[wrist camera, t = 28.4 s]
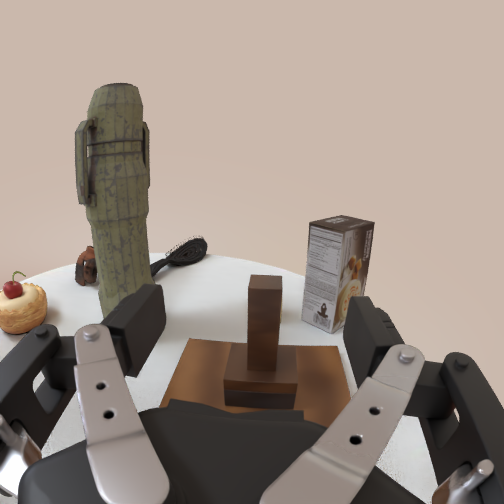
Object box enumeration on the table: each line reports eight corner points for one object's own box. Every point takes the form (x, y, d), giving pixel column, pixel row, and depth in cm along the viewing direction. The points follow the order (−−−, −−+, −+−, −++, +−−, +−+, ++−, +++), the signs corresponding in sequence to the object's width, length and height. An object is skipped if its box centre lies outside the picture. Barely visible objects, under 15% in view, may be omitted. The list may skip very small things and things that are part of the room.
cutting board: (122, 516, 14) (116, 510, 14) (190, 346, 39) (189, 338, 38) (370, 534, 13) (376, 529, 12) (335, 354, 37) (337, 345, 37)
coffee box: (331, 301, 52) (341, 213, 46) (361, 313, 47) (376, 221, 42) (299, 319, 46) (308, 220, 41) (331, 335, 41) (347, 230, 36)
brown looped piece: (75, 275, 60) (85, 242, 60) (110, 289, 63) (121, 256, 64) (66, 283, 49) (77, 244, 49) (108, 299, 53) (120, 260, 53)
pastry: (-13, 332, 33) (-29, 287, 30) (20, 303, 44) (9, 261, 41) (28, 344, 33) (11, 293, 30) (62, 308, 45) (51, 263, 42)
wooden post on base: (224, 405, 27) (219, 295, 23) (232, 369, 32) (230, 266, 28) (293, 409, 26) (309, 299, 22) (292, 372, 32) (303, 269, 28)
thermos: (176, 315, 46) (168, 87, 35) (133, 355, 35) (109, 72, 24) (135, 304, 49) (122, 97, 37) (90, 337, 38) (63, 91, 26)
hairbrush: (121, 269, 56) (187, 233, 78) (124, 284, 58) (188, 246, 79) (150, 277, 53) (214, 237, 75) (153, 294, 55) (214, 250, 76)
